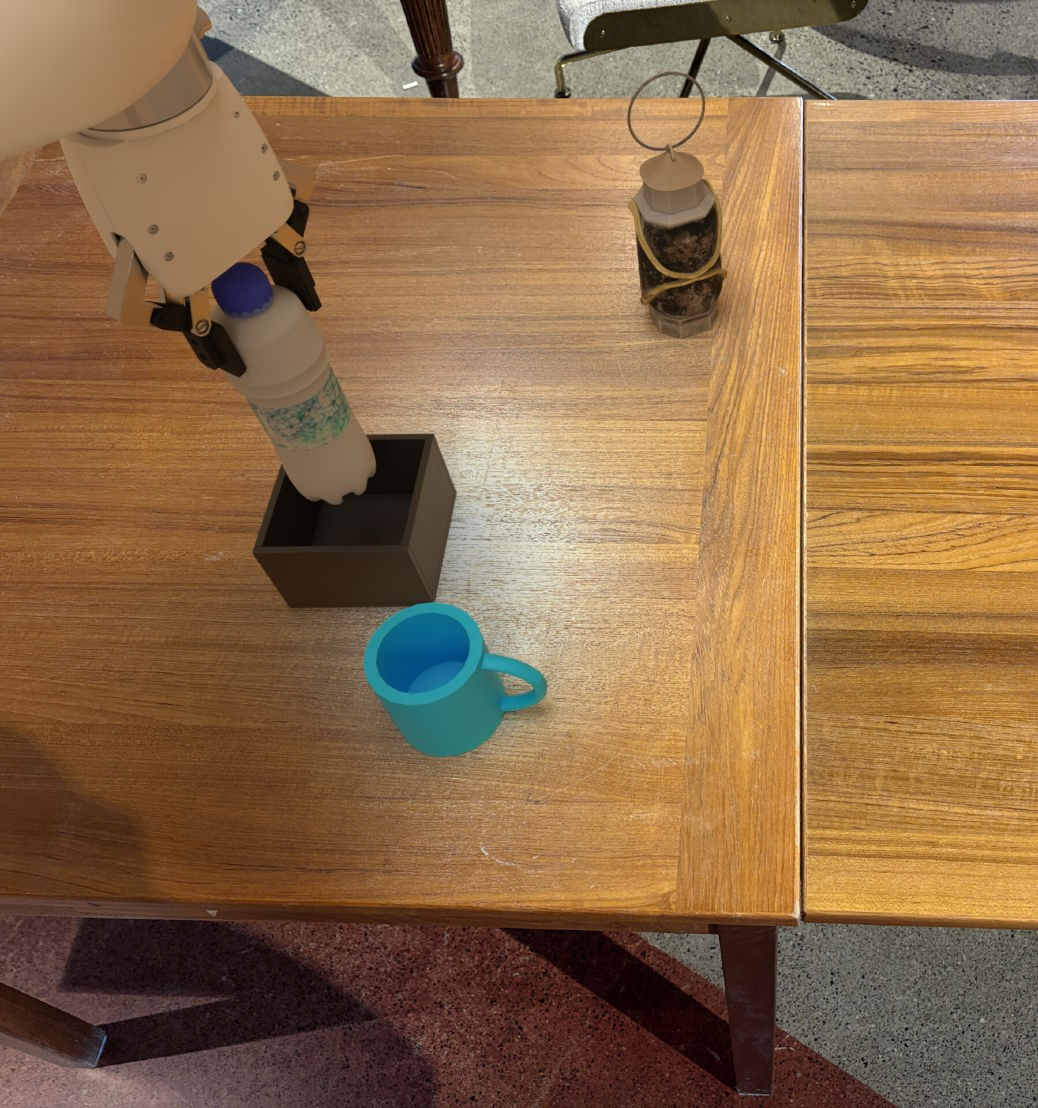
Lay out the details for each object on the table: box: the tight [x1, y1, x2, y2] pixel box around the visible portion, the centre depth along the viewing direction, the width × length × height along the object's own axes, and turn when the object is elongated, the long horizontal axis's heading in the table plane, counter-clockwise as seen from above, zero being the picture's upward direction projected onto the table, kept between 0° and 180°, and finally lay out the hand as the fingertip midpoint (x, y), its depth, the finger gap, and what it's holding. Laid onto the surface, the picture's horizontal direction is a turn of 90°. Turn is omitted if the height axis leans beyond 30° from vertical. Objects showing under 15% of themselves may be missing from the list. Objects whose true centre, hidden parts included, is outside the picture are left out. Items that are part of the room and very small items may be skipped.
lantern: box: [626, 70, 728, 339], centre depth 94 cm, size 9×8×25 cm
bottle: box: [210, 261, 376, 505], centre depth 73 cm, size 7×7×20 cm
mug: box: [362, 601, 548, 758], centre depth 77 cm, size 12×8×8 cm
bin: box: [252, 432, 457, 609], centre depth 86 cm, size 12×12×8 cm
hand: (264, 332), depth 69 cm, fingers closed on bottle, 6 cm apart
